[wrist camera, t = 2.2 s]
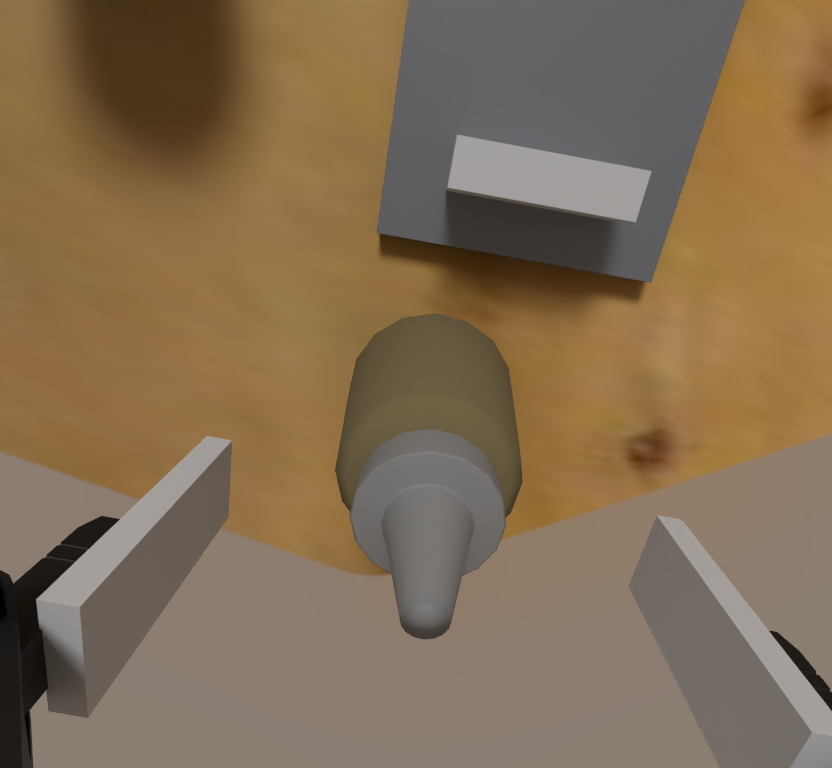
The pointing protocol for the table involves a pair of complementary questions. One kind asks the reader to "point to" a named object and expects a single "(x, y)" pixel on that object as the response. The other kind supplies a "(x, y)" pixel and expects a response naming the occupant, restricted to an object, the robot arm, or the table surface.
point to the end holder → (551, 125)
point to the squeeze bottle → (429, 460)
